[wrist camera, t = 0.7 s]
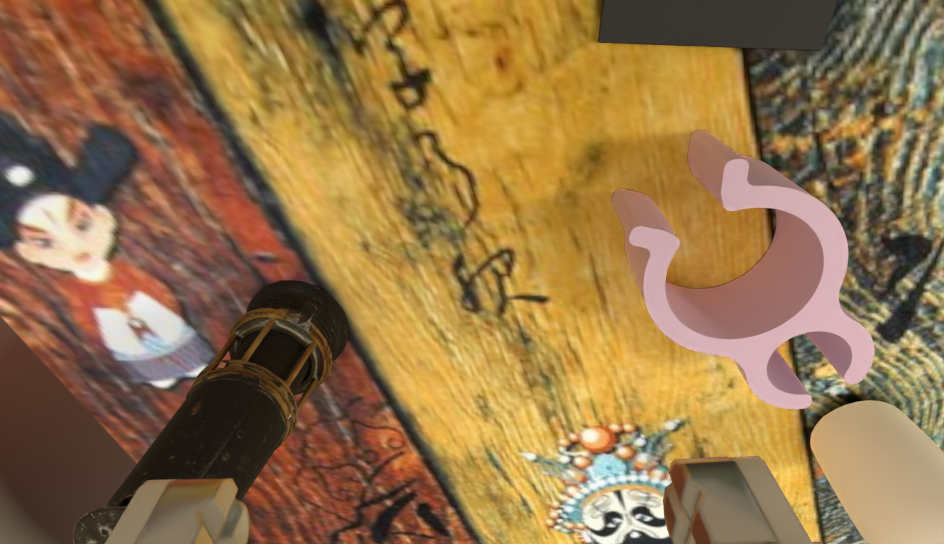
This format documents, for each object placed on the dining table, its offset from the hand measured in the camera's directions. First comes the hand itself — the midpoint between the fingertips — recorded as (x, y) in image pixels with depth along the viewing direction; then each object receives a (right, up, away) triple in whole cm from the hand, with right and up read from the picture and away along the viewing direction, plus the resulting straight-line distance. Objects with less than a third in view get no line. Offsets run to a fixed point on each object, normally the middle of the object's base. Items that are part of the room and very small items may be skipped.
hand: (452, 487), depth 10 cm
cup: (+35, -10, +38) cm, 52 cm away
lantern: (-15, -1, +37) cm, 40 cm away
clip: (+20, +5, +31) cm, 38 cm away
